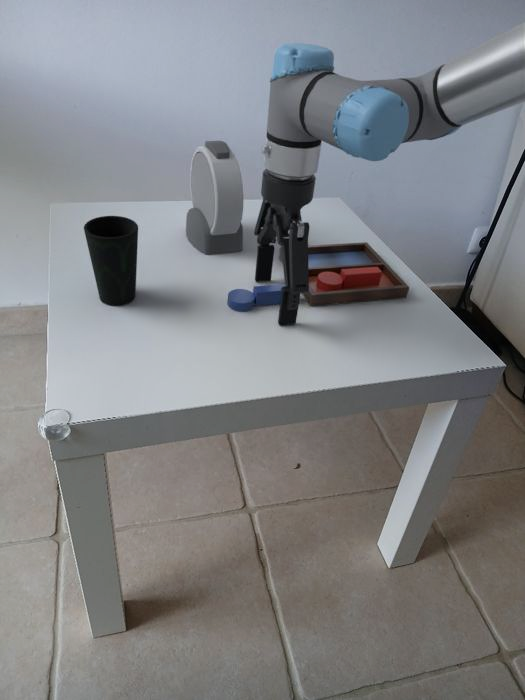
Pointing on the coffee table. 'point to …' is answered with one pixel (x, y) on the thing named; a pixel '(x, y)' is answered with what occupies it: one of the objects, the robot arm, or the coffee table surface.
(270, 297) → the blue disc-ended stick
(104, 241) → the cup
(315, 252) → the divided sorting tray
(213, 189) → the alarm clock
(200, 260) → the coffee table surface
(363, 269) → the red spoon
